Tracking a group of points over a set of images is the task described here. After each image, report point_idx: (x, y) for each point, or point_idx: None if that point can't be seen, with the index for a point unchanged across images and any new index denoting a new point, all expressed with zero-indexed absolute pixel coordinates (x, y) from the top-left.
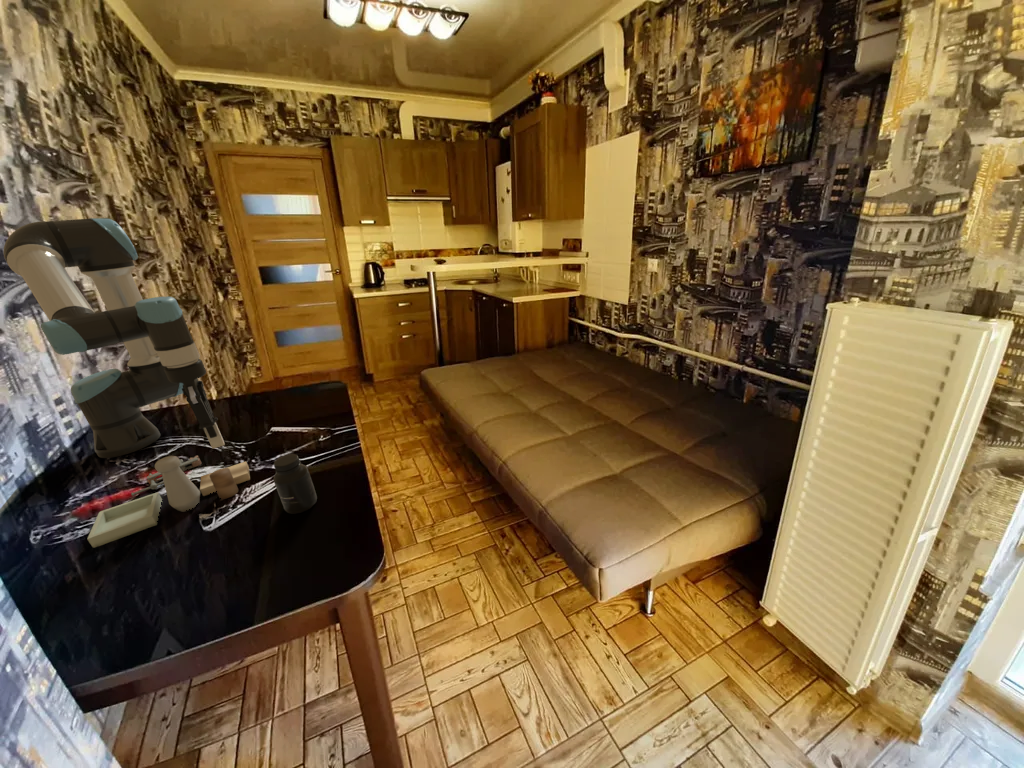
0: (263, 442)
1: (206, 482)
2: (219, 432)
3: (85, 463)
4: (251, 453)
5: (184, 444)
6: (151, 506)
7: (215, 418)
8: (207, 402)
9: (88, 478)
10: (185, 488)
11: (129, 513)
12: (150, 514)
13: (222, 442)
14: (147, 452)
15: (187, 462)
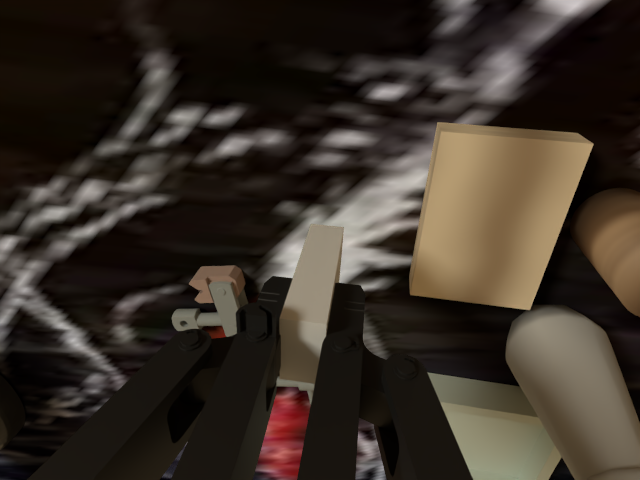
0: (201, 14)
1: (491, 287)
2: (320, 270)
3: (28, 452)
4: (292, 90)
5: (26, 289)
6: (509, 418)
7: (262, 326)
8: (118, 453)
9: None
10: (624, 385)
11: None
12: None
13: (341, 240)
14: (34, 365)
15: (231, 311)
